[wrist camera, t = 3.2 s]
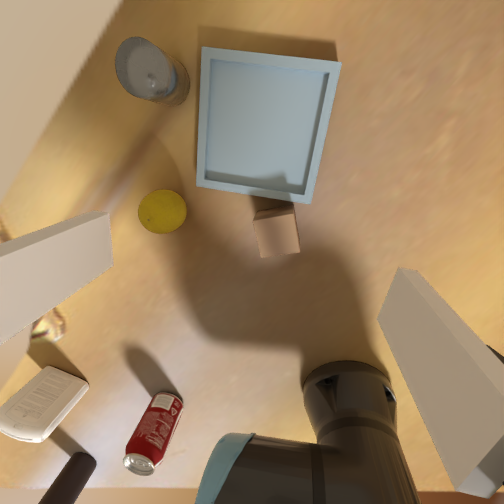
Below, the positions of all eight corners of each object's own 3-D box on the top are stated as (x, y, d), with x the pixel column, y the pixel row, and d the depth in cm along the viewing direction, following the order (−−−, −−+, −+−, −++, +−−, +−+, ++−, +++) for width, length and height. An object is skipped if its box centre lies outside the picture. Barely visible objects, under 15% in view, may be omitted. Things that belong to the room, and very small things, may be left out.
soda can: (156, 385, 54) (120, 447, 43) (187, 396, 54) (160, 461, 43) (152, 406, 56) (117, 469, 46) (181, 416, 56) (154, 482, 45)
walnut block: (293, 204, 36) (293, 213, 31) (299, 238, 37) (300, 252, 33) (257, 211, 37) (252, 220, 32) (264, 244, 39) (261, 257, 34)
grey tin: (190, 60, 31) (163, 39, 25) (189, 108, 33) (163, 100, 27) (150, 55, 31) (113, 34, 25) (151, 103, 33) (117, 94, 27)
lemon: (152, 208, 39) (119, 224, 32) (168, 177, 37) (137, 186, 29) (183, 230, 39) (158, 250, 32) (201, 200, 37) (179, 214, 30)
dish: (338, 67, 29) (341, 62, 27) (309, 201, 35) (310, 204, 33) (207, 52, 30) (201, 46, 29) (200, 183, 36) (196, 186, 35)
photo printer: (44, 375, 58) (-16, 431, 46) (45, 361, 56) (-17, 417, 45) (88, 392, 58) (39, 453, 47) (90, 380, 56) (39, 440, 45)
